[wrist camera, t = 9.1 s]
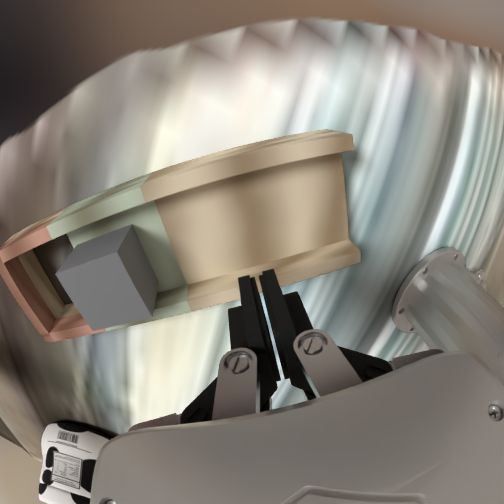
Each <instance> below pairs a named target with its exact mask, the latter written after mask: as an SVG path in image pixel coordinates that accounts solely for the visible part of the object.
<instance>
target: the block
mask: <svg viewBox="0 0 504 504" xmlns="http://www.w3.org/2000/svg"><path fill="white" fill-rule="evenodd" d="M56 276H57V278H58V279H59V281H60V283H61V284H62V286H63V288H64V289H65V291H66V292H67V294H68V296H69V297H70V299H71V300H72V302H73V303H74V305H75V306H76V308H77V309H78V311H79V312H80V314H81V315H82V317H83V318H84V319H85V321H86V322H87V324H88V325H89V326H90V328H91V329H92V330H93V331H95V330H100V329H104V328H109V327H113V326H118V325H122V324H126V323H130V322H135V321H139V320H143V319H147V318H151V317H153V311H154V306H155V300H156V295H157V290H158V285H159V281H158V279H157V277H156V275H155V273H154V271H153V269H152V267H151V265H150V262H149V260H148V258H147V256H146V254H145V252H144V249H143V247H142V245H141V243H140V241H139V238H138V236H137V234H136V231H135V229H134V227H133V224H131V225H128V226H125V227H122V228H119V229H117V230H114V231H111V232H109V233H106V234H103V235H101V236H98V237H95V238H93V239H90V240H88V241H85V242H83V243H80V244H78V245H76V247H75V248H74V249H73V250H72V252H71V253H70V254H69V256H68V257H67V258H66V260H65V261H64V262H63V264H62V265H61V267H60V268H59V269H58V271H57V272H56Z"/></svg>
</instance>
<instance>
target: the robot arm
mask: <svg viewBox="0 0 504 504" xmlns="http://www.w3.org/2000/svg"><path fill="white" fill-rule="evenodd" d="M262 273H263V275H259V280H260V284H261V288H262V292H263V296H264V300H265V304H266V308H267V312H268V316H269V320H270V323H271V327H272V331H273V335H274V339H275V343H276V347H277V351H278V355H279V358H280V362H281V366H282V370H283V374H284V378H285V379H288V378H290V381H291V385H293V386H295V387H297V388H300V389H301V390H302V393H303V395H304V397H305V399H306V401H305V402H301V403H297V404H294V405H290V406H286V407H282V408H277V409H273V410H272V399H271V396H272V395H273V394H274V392H275V391H276V390H277V388H278V387H277V383H276V381H280V380H281V378H280V374H279V370H278V366H277V362H276V358H275V354H274V350H273V345H272V341H271V337H270V333H269V329H268V325H267V321H266V317H265V313H264V310H263V306H262V302H261V298H260V295H259V291H258V287H257V283H256V280H255V277H251V278H250V275H246V276H242V277H238V283H239V290H240V298H241V305H242V306H238V307H234V308H230V309H228V317H229V330H230V342H231V351H228V352H227V353H226V354H225V355H224V356H223V357H222V358H221V361H220V364H219V370H218V377H217V378H216V379H215V380H214V381H213V382H212V383H211V384H210V385H209V386H208V387H207V388H206V389H205V390H204V391H203V392H202V393H201V394H200V395H199V396H198V397H197V398H196V399H195V400H194V401H193V402H192V403H190V404H189V405H188V406H187V407H186V408H185V410H184V411H183V412H182V414H179V415H177V414H176V413H174V414H171V415H167V416H164V417H160V418H157V419H153V420H150V421H146V422H142V423H138V424H136V425H134V426H132V427H131V428H130V429H129V431H128V432H126V433H124V434H121V435H119V436H116V437H114V438H112V439H111V440H109V441H108V442H107V443H105V444H104V445H103V447H102V448H101V450H100V452H99V454H98V457H97V461H96V464H95V468H94V473H93V479H92V487H91V496H90V504H504V308H503V307H502V306H501V305H500V304H499V303H498V302H497V301H496V300H495V299H494V298H493V297H492V296H491V295H490V294H489V293H488V292H487V291H486V283H485V282H484V281H483V279H484V278H485V272H484V271H483V270H479V271H477V272H476V273H474V274H473V273H471V272H470V271H469V270H468V269H467V268H466V261H465V258H464V256H463V254H461V253H460V252H459V251H458V250H456V249H455V248H452V247H444V248H441V249H438V250H436V251H434V252H432V253H431V254H429V255H428V256H426V257H425V258H424V259H423V260H422V261H420V262H419V263H418V264H417V265H416V267H415V268H414V269H413V270H412V271H411V272H410V274H409V275H408V276H407V277H406V279H405V281H404V282H403V284H402V285H401V287H400V289H399V291H398V293H397V295H396V298H395V301H394V304H393V309H392V318H393V321H394V323H395V325H396V326H397V327H398V329H399V330H400V331H402V332H405V333H414V332H417V333H418V334H419V335H420V337H421V338H422V339H423V341H424V342H425V343H426V345H427V346H428V347H429V349H430V350H427V351H423V352H418V353H414V354H410V355H405V356H400V357H396V358H393V359H392V361H388V362H387V361H385V360H383V359H380V358H377V357H373V356H370V355H366V354H363V353H359V352H356V351H353V350H349V349H346V348H343V347H339V346H337V345H336V344H335V342H334V341H333V340H332V338H331V337H330V335H328V334H327V333H326V332H324V331H322V330H318V329H313V327H312V325H311V322H310V320H309V317H308V315H307V313H306V310H305V308H304V306H303V303H302V301H301V299H300V296H299V294H298V292H297V291H296V292H293V293H289V294H285V295H283V294H282V291H281V288H280V285H279V282H278V279H277V277H276V274H275V271H274V269H270V270H266V271H262Z"/></svg>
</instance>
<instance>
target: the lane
mask: <svg viewBox="0 0 504 504" xmlns="http://www.w3.org/2000/svg"><path fill="white" fill-rule="evenodd" d="M350 150H354V144H353V136H352V134H348V133H343V132H338V131H333V130H328V129H323V130H317V131H311V132H305V133H300V134H295V135H289V136H284V137H279V138H274V139H270V140H265V141H261V142H256V143H252V144H248V145H244V146H240V147H236V148H232V149H228V150H224V151H220V152H217V153H213V154H209V155H206V156H202V157H199V158H196V159H192V160H189V161H186V162H183V163H179V164H176V165H173V166H170V167H167V168H164V169H161V170H158V171H155V172H152V173H149V174H147V175H144V176H141V177H138V178H136V179H133V180H130V181H128V182H125V183H122V184H120V185H117V186H115V187H112V188H110V189H107V190H105V191H102V192H100V193H98V194H95V195H93V196H91V197H88V198H86V199H84V200H82V201H79V202H77V203H75V204H73V205H71V206H68V207H66V208H64V209H62V210H60V211H58V212H56V213H54V214H52V215H50V216H48V217H46V218H44V219H42V220H40V221H38V222H36V223H34V224H32V225H30V226H29V227H27V228H25V229H23V230H21V231H19V232H18V233H16V234H14V235H13V236H12V237H11V238H10V239H8V240H7V241H6V242H5V243H4V244H3V245H2V246H1V247H0V274H1V276H2V278H3V279H4V281H5V283H6V284H7V286H8V288H9V289H10V291H11V293H12V294H13V296H14V297H15V299H16V300H17V302H18V303H19V305H20V306H21V308H22V309H23V311H24V312H25V314H26V315H27V317H28V318H29V319H30V321H31V322H32V323H33V325H34V326H35V328H36V329H37V330H38V331H39V333H40V334H41V335H42V337H43V338H44V339H45V340H46V342H47V343H48V342H54V341H59V340H64V339H70V338H75V337H80V336H85V335H90V334H95V333H100V332H105V331H110V330H114V329H119V328H124V327H128V326H133V325H137V324H141V323H146V322H150V321H154V320H159V319H163V318H167V317H171V316H175V315H179V314H183V313H187V312H191V311H195V310H199V309H203V308H207V307H211V306H215V305H218V304H222V303H226V302H230V301H233V300H237V299H241V298H240V290H239V283H238V277H242V276H246V275H250V278H251V277H255V280H256V283H257V287H258V291H259V293H262V288H261V284H260V280H259V275H263V273H262V271H266V270H270V269H274V271H275V274H276V277H277V279H278V282H279V285H280V287H283V286H286V285H290V284H293V283H296V282H300V281H303V280H306V279H310V278H313V277H316V276H319V275H323V274H326V273H329V272H332V271H335V270H338V269H341V268H345V267H348V266H351V265H354V264H357V263H360V262H361V251H360V250H359V249H358V248H357V247H356V246H355V245H354V244H353V243H352V242H351V241H350V240H349V236H348V219H347V205H346V193H345V183H344V173H343V164H342V156H341V152H344V151H350ZM131 224H133V227H134V229H135V231H136V234H137V236H138V238H139V241H140V243H141V245H142V247H143V249H144V252H145V254H146V256H147V258H148V260H149V262H150V265H151V267H152V269H153V271H154V273H155V275H156V277H157V279H158V281H159V285H158V290H157V295H156V300H155V306H154V311H153V317H151V318H147V319H143V320H139V321H135V322H130V323H126V324H122V325H118V326H113V327H109V328H104V329H100V330H95V331H93V330H92V329H91V328H90V326H89V325H88V324H87V322H86V321H85V319H84V318H83V317H82V315H81V314H80V312H79V311H78V309H77V308H76V306H75V305H74V303H71V304H67V305H65V304H64V303H63V301H62V300H61V298H60V297H59V295H58V293H57V292H56V290H55V289H54V287H53V285H52V284H51V282H50V280H49V279H48V277H47V275H46V273H45V272H44V270H43V268H42V266H41V264H40V263H39V261H38V259H37V257H36V255H35V253H34V251H33V248H35V247H37V246H39V245H41V244H43V243H46V242H48V241H50V240H52V239H54V238H57V237H59V236H61V235H64V234H67V236H68V238H69V240H70V242H71V244H72V246H73V248H75V247H76V245H78V244H80V243H83V242H85V241H88V240H90V239H93V238H95V237H98V236H101V235H103V234H106V233H109V232H111V231H114V230H117V229H119V228H122V227H125V226H128V225H131Z"/></svg>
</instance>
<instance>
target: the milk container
mask: <svg viewBox="0 0 504 504" xmlns="http://www.w3.org/2000/svg"><path fill="white" fill-rule="evenodd" d="M109 440H111V438H109V437H107V436H105V435H103V434H101V433H99V432H96V431H94V430H91V429H89V428H85V427H82V426H79V425H76V424H71V423H66V422H53V423H51V424H49V425H48V426H47V427H46V429H45V431H44V433H43V436H42V442H41V445H42V457H43V461H42V470H41V475H40V485H39V499H40V500H41V501H43V502H46V503H48V504H90V496H91V487H92V479H93V473H94V468H95V464H96V461H97V457H98V454H99V452H100V450H101V448H102V447H103V445H104V444H105V443H107V442H108V441H109Z"/></svg>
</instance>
